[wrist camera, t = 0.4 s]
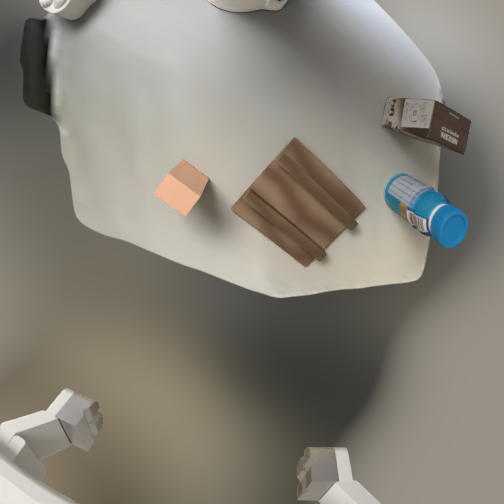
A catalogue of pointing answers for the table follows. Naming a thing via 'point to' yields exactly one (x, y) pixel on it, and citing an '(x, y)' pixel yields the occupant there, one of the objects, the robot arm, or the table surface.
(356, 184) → the table surface
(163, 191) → the tall peach pillar
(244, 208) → the walnut rack
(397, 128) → the coffee box
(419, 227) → the beverage bottle
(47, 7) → the white paw shaped block
